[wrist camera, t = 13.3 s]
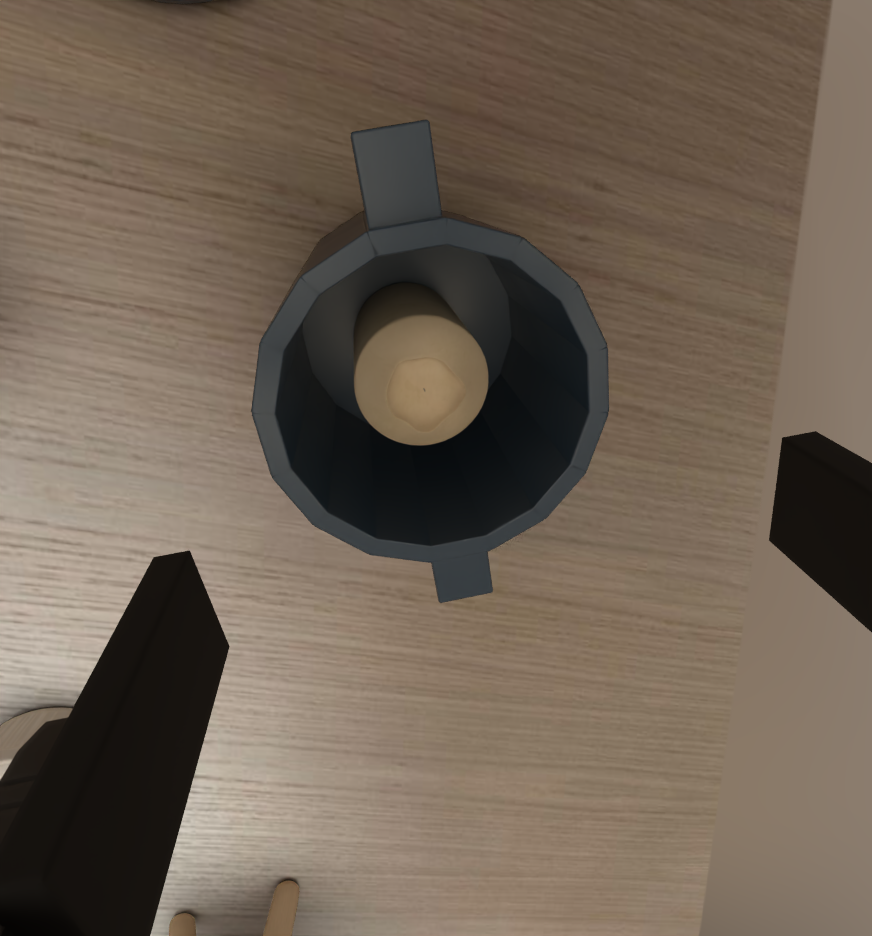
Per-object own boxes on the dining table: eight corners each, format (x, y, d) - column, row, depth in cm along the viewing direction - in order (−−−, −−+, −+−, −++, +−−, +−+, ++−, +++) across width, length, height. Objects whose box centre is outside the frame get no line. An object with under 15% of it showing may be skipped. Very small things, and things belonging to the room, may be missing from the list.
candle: (459, 281, 31) (501, 324, 22) (454, 383, 33) (491, 458, 24) (352, 280, 30) (351, 323, 21) (355, 384, 33) (355, 461, 24)
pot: (505, 123, 28) (603, 88, 17) (534, 457, 37) (613, 579, 25) (243, 167, 28) (171, 159, 17) (331, 496, 36) (321, 639, 25)
